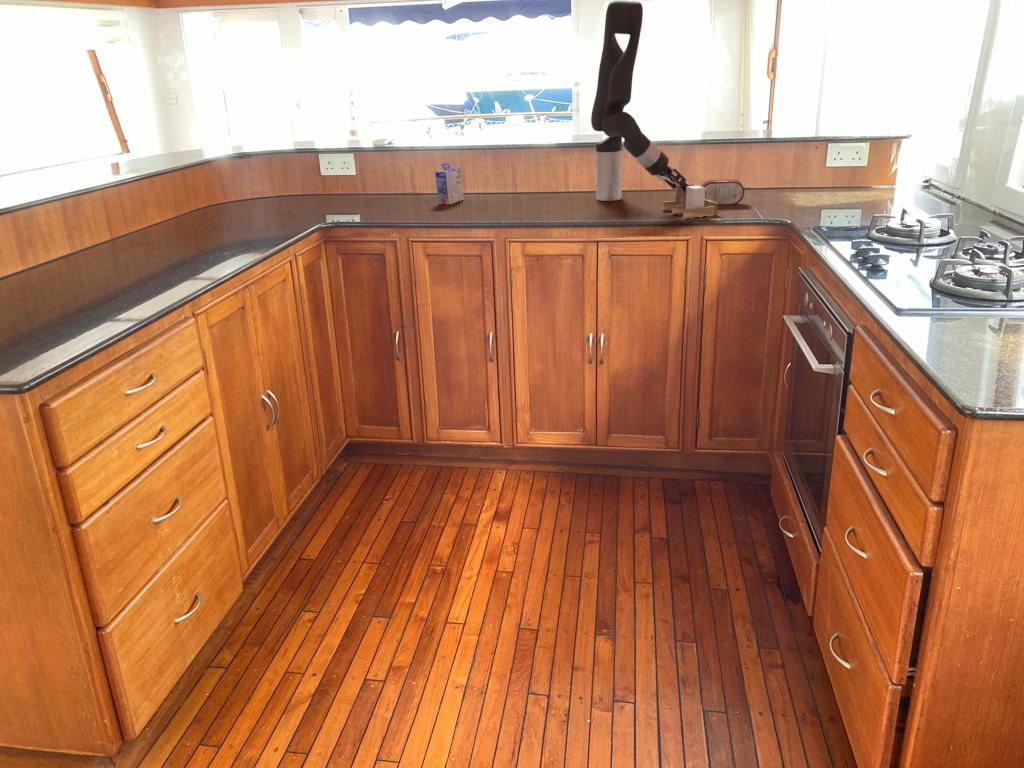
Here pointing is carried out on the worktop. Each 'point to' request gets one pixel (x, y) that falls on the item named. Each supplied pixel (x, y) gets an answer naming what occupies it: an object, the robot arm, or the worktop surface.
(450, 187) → the ink cartridge box
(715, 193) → the tin
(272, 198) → the worktop surface
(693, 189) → the white block
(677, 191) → the tan block
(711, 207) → the rack
